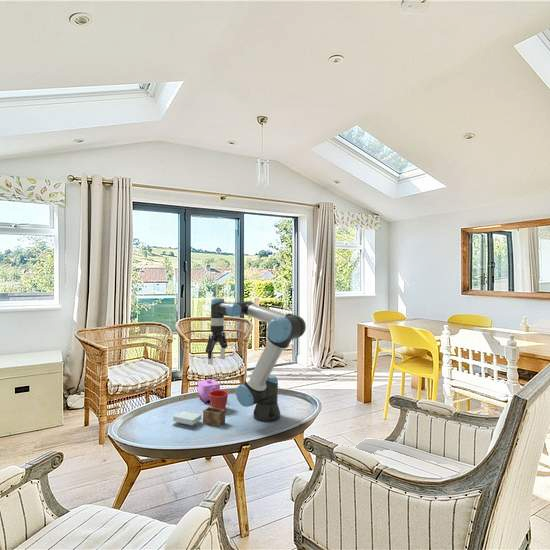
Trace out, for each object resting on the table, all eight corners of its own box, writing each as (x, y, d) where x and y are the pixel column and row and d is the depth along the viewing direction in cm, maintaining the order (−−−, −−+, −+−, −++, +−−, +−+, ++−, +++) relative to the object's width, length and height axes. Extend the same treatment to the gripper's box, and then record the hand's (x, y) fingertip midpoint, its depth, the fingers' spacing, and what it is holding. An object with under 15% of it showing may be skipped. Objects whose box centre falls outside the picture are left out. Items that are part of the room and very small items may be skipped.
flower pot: (224, 413, 211) (224, 396, 211) (206, 412, 213) (206, 395, 213) (230, 407, 221) (230, 390, 221) (212, 405, 223) (213, 389, 223)
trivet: (201, 423, 197) (201, 421, 197) (192, 429, 189) (192, 428, 189) (183, 419, 202) (183, 418, 202) (172, 425, 194) (172, 424, 194)
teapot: (196, 396, 239) (197, 377, 239) (212, 394, 243) (212, 375, 243) (206, 406, 221) (206, 385, 221) (222, 404, 226) (222, 383, 226)
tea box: (225, 422, 198) (225, 409, 198) (219, 426, 193) (219, 413, 193) (209, 419, 202) (209, 406, 202) (202, 423, 197) (203, 410, 197)
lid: (201, 422, 197) (201, 414, 197) (192, 428, 190) (192, 420, 190) (182, 418, 201) (182, 411, 201) (173, 424, 194) (173, 416, 194)
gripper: (222, 321, 227) (221, 356, 227) (199, 327, 204) (198, 365, 204) (233, 322, 224) (232, 357, 224) (211, 328, 201) (210, 367, 201)
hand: (216, 361), depth 214 cm, fingers open, 13 cm apart
